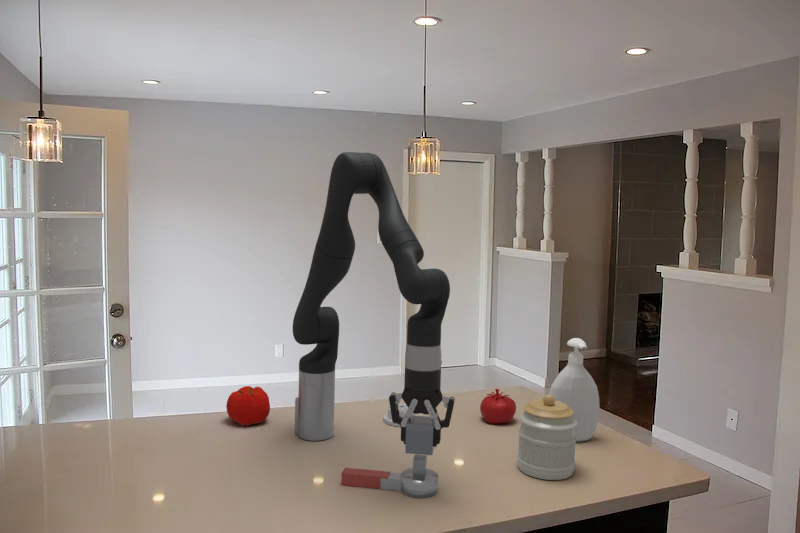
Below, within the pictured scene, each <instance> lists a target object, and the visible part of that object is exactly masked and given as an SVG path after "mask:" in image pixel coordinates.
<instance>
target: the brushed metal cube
mask: <svg viewBox="0 0 800 533" xmlns="http://www.w3.org/2000/svg"><path fill="white" fill-rule="evenodd" d="M434 428H435V427H434V423H433V422H432V420H431V418H430V416H427V415H426V416H425V415H418V416H414V415H411V417H410V419H409V421H407V423H406V444H404V445H405V449H404V451H405V452H404V453H405V454H410V455H413V454H414V455H415V454H417V455H427V456H434V455H433V454H434V451H435V447H433V442H434Z"/></svg>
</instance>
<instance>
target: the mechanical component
mask: <svg viewBox="0 0 800 533" xmlns="http://www.w3.org/2000/svg"><path fill="white" fill-rule="evenodd" d="M398 409H399V415H400V416H401V417H403V418H404V416H405V414H406V411H407V409H408V406H407V405H406V403H405V402H400V403H399V404H398ZM412 415H414V416H419V415H418V414H414V413H412ZM383 422H384V423H385V424H387V425H389V426H392V427H398V428H399V427H400V428H401V426H400V425H399V424H397V423H393V421H392V415H391V409H390V404H389V405H388V408H387V413H385V414H383Z"/></svg>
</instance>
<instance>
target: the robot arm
mask: <svg viewBox="0 0 800 533" xmlns="http://www.w3.org/2000/svg"><path fill="white" fill-rule="evenodd" d="M364 194H365V195H367V194H368V195H369V196H370V197H371V198H372V199H373V201H374V203H375V204H376V207H377V209H378V224H377V225H378V226H377V228H378V229H377V231H378V236H379V240H380V242H381V244H382V246H383V248H384V250H385V251H386V254H387V255H388V256H389V258H390V261H391V262H392V264H393V270H394V274H395V278H396V281H397V287H398V289H399V292H400V294H401V296H402V297H403V298H404V299H405V300H406V302H408V303H409V304H411V305H420V308H419V310H418V312H416V313H414V314H412V315H411V316H410V317H409V318H408V319H407V325H406V329H407V330H406V347H405V348H406V349H405V355H404V384H403V385H404V387H403V391H402V392H399V393H397V392H391V393H390V395H389V397H388V402H389V405H390V409H391V415H392V421H393V423H397V424H399V425H400V426H401V427H400V440H401V442H403V445H406V423H407V421H409V419H410V417H411V415H412V413H414V414H417V415H418V414H422V415H426V416H427V415H428V417H430V418H431V420H432V422H433V423H434V427H435V428H434V442H433V447H434V448H437V447H438V445H440V443H441V438H442V435H441V434H442V429H443V428H449V427H450V423H451V420H452V414H453V410H454V406H455V401H456V399H455V397H454V396H450V397H449V396H445V395H443V393H442V391H441V383H442V382H441V380H442V363H443V360H442V348H441V342H442V322H443V320H444V317H445V314H446V310H447V306H448V302H449V299H450V293H451V284H450V280H449V277H448V275H447V274H446V272H444V271H443V270H442V269H439V268H424V269H421V268H420V266H419V265H418V264H419V263H420V262H422V260H423V259H424V257H425V256H424V255H425V251H424V248H423V247H422V246H423V245H422V244H421V243H420V241H419V239H418V237H417V236H416V234H415V232H414V231H413V230H412V228H411V226H410V224H409V222H408V221H407V218H406V216H405V214H404V212H403V210H402V207H401V205H400V202H399V200H398V196H397V193H396V191H395V189H394V186H393V184H392V181H391V178H390V176H389V173H388V170H387V169H386V166H385V164H384V162H383V161H382V159H381V158H380V156H378V155H377V154H375V153H372V152H371V153H370V152H354V151H345V152H341V153H340V154H338V155H337V157H336V158H335V159H334V162H333V164H332V168H331V172H330V176H329V182H328V189H327V194H326V196H327V197H326V201H325V202H326V203H325V207H324V212H323V218H322V222H321V226H320V229H319V233H318V235H317V236H318V237H317V240H316V244H315V247H314V251H313V255H312V258H311V263H310V268H309V272H308V275H307V279H306V282H305V285H304V287H303V291H302V294H301V296H300V299H299V303H298V304H297V307H296V310H295V312H294V316H293V320H292V335H293V339H294V341H295V342H296V343H298V344H299V345H307V346H308V345H316V346H315V347H314V348H313V349H312V350H311V351H310V352H308V353H306V354H304V355H302V356H301V357H300V358H299V362H298V397H295V400H294V435H296V436H298V438H300V439H302V440H306V441H313V442H314V441H315V442H317V441H324V440H328V439H330V438H332V437H334V435H335V434H334V433H335V391H336V365H337V364H336V363H337V361H338V354H339V353H338V351H339V350H338V349H339V338H340V337H339V336H340V319H339V315H338V312H337V311H336V309H335V308H334V307H332V306H322V304H323V302H324V301H325V299H326V297H328V296H329V294H330V293H331V292H332V291H333V290H334V289H335V288H336V287H337V286H338V285H340V283H341V282H342V281H343V279H344V278H345V277H346V276H347V274H348V273H349V270H350V268H351V265H352V261H353V257H354V254H355V250H356V239H355V237H354V236H355V235H354V232H353V230H352V226H351V224H350V220H349V211H350V206H351V202H352V199H353V196H354V195H364ZM401 399H402V400H403V403H405V404H406V405H407V406H408V409H407V411H406V414H405V416H404V418H403V417H401V416H400V415H399V409H398V404H399V403H401ZM441 403H443V406H444V408H445V409H446V411H445V417H444V418H443V419H441V418H440V416H439V412H438V409H437V408H438V406H439V405H440V404H441Z"/></svg>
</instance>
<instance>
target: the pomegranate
mask: <svg viewBox="0 0 800 533" xmlns="http://www.w3.org/2000/svg"><path fill="white" fill-rule="evenodd" d="M504 393H505V392H500V389H499V388H495V392H494V391H492V392H491V393H488V394H487V393H486V394H485V395H486V396H484V398H483V399H482V401H481V402H480V406H479V411H480V414H481V417H482V418H483V420H484V421H486V423H489V424H491V425H493V424H494V425H495V424H497V425H500V424H501V425H502V424H503V425H504V424H508V423H510V422H512V420H513V419H514V416H515V414H516V411H517V405H516V402H515V401H514V399H512V398H511V397H512V396H511V395H509V394H504ZM503 394H504V395H503Z"/></svg>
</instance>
